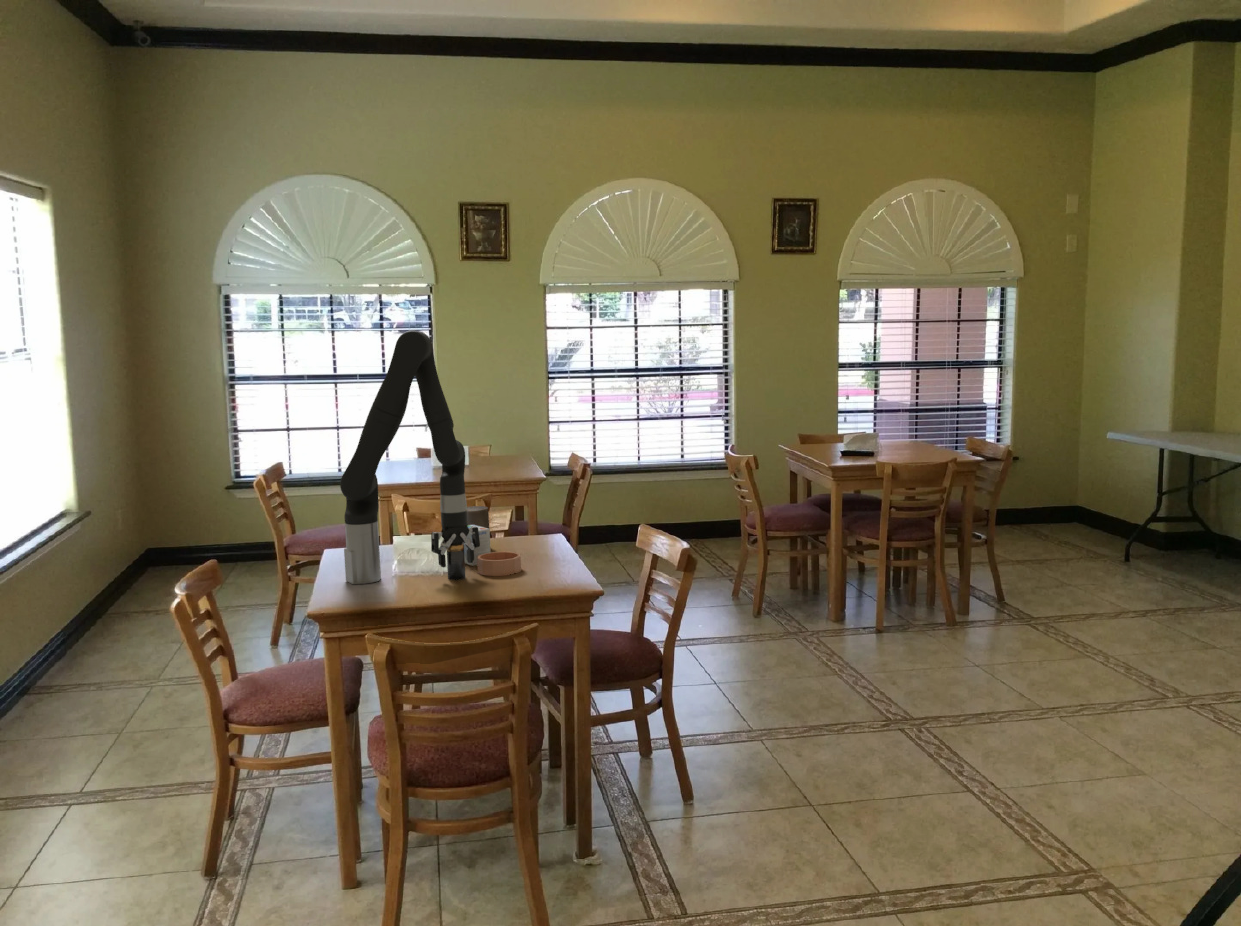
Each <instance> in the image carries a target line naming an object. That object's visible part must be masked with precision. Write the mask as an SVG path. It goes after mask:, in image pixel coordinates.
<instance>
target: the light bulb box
mask: <svg viewBox="0 0 1241 926" xmlns="http://www.w3.org/2000/svg"><path fill="white" fill-rule="evenodd" d="M472 526H475V527H478V531H479V540H480V546H479V547H476V548H475V549H474V561H473V563H468V561H467V550H468V548H467V547H466V546H465V545H464V558H465V565H469V566H472V567H474V566H478V564H477V558H478V556H479V555H482V554H485V553H491V552H492V551H491V548H490V547H491V531H490V530H491V529H490V528H489V529H488V528H484V527H480V526H477V525H468V528H470V527H472ZM467 538H468V539H469V540H470V542H471V543H472V534H470V532H469V533H468V535H467Z"/></svg>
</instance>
